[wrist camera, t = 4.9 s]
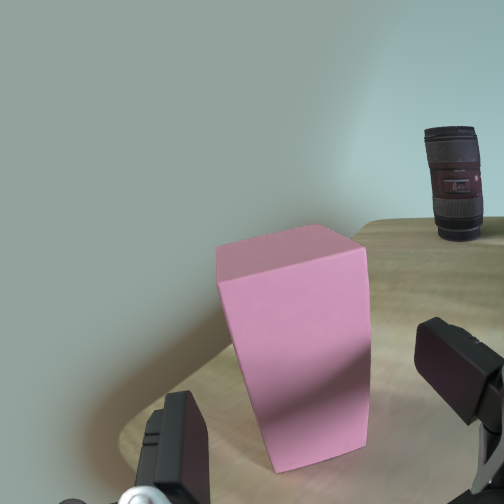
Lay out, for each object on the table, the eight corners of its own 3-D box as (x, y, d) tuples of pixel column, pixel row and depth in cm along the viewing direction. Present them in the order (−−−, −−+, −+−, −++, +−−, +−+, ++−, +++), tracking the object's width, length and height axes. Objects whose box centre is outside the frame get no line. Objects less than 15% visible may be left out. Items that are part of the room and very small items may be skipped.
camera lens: (494, 234, 31) (485, 126, 27) (462, 247, 30) (451, 125, 26) (457, 224, 38) (447, 129, 34) (423, 234, 37) (411, 130, 33)
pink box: (275, 474, 11) (215, 283, 8) (261, 413, 15) (215, 246, 12) (366, 446, 11) (366, 246, 8) (336, 392, 15) (318, 222, 13)
